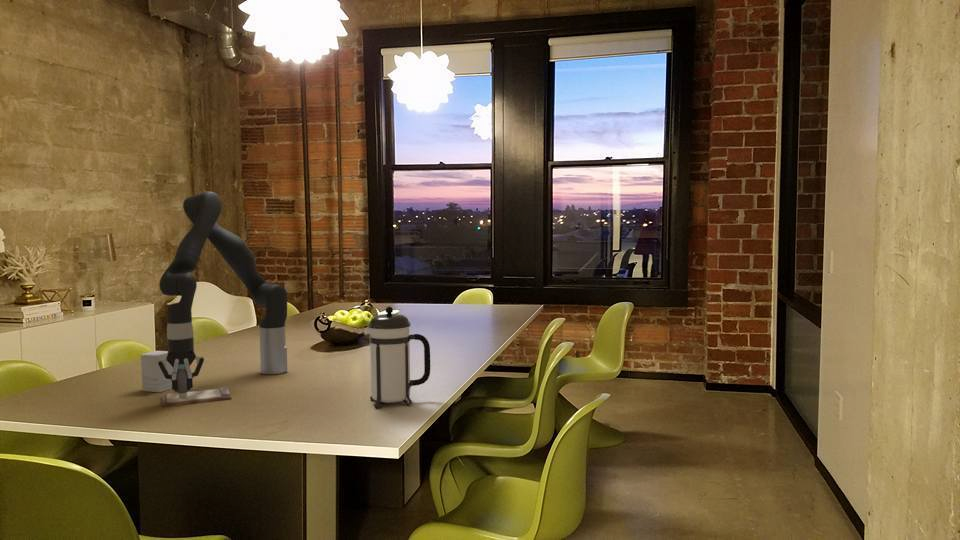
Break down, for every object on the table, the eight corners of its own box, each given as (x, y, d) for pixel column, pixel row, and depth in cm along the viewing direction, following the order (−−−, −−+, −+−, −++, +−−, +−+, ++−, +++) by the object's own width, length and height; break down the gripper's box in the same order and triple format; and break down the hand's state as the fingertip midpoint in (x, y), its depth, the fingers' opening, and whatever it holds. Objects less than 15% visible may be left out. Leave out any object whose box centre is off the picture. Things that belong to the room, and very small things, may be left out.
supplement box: (175, 387, 232) (174, 351, 231) (159, 392, 225) (157, 355, 224) (158, 386, 234) (157, 350, 233) (141, 391, 227) (140, 354, 226)
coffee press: (397, 412, 199) (395, 311, 197) (356, 405, 207) (354, 307, 205) (432, 399, 214) (430, 304, 212) (392, 392, 222) (390, 301, 220)
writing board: (227, 390, 228) (227, 385, 227) (231, 399, 216) (231, 394, 216) (162, 397, 219) (161, 392, 219) (161, 406, 207) (161, 402, 207)
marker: (188, 394, 217) (187, 361, 216) (189, 396, 213) (187, 363, 213) (176, 395, 215) (175, 362, 214) (176, 398, 212) (175, 365, 211)
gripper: (203, 333, 219) (205, 385, 221) (155, 336, 213) (157, 390, 215) (205, 336, 213) (207, 390, 214) (155, 340, 207) (157, 395, 208)
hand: (182, 390), depth 214 cm, fingers closed on marker, 3 cm apart
